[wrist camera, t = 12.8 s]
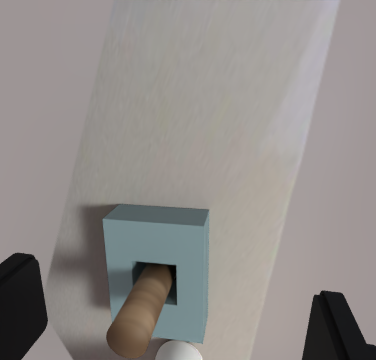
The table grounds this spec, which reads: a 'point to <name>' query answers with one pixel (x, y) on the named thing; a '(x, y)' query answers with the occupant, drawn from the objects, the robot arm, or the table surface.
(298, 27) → the table surface
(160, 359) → the water bottle
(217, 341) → the table surface
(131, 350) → the peg
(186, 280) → the socket block
